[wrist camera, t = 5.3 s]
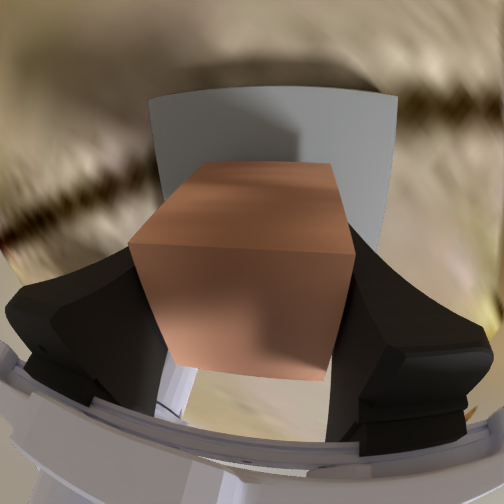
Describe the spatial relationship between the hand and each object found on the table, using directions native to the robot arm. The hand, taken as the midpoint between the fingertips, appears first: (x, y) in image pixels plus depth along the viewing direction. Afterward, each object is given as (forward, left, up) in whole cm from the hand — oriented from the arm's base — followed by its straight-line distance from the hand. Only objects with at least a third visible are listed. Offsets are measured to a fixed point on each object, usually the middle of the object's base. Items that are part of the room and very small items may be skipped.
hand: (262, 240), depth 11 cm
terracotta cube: (0, 0, -2) cm, 2 cm away
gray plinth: (0, 0, -6) cm, 6 cm away
